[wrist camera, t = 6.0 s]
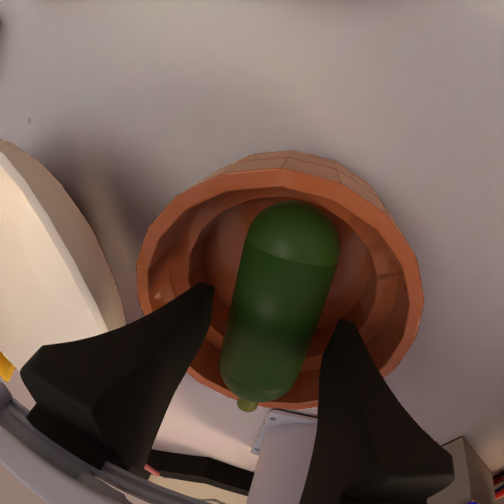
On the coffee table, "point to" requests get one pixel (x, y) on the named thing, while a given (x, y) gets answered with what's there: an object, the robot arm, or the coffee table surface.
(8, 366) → the teapot
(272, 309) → the zucchini
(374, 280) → the terracotta bowl
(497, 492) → the pencil case
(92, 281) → the bowl
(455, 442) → the house
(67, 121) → the coffee table surface
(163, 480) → the wall clock
